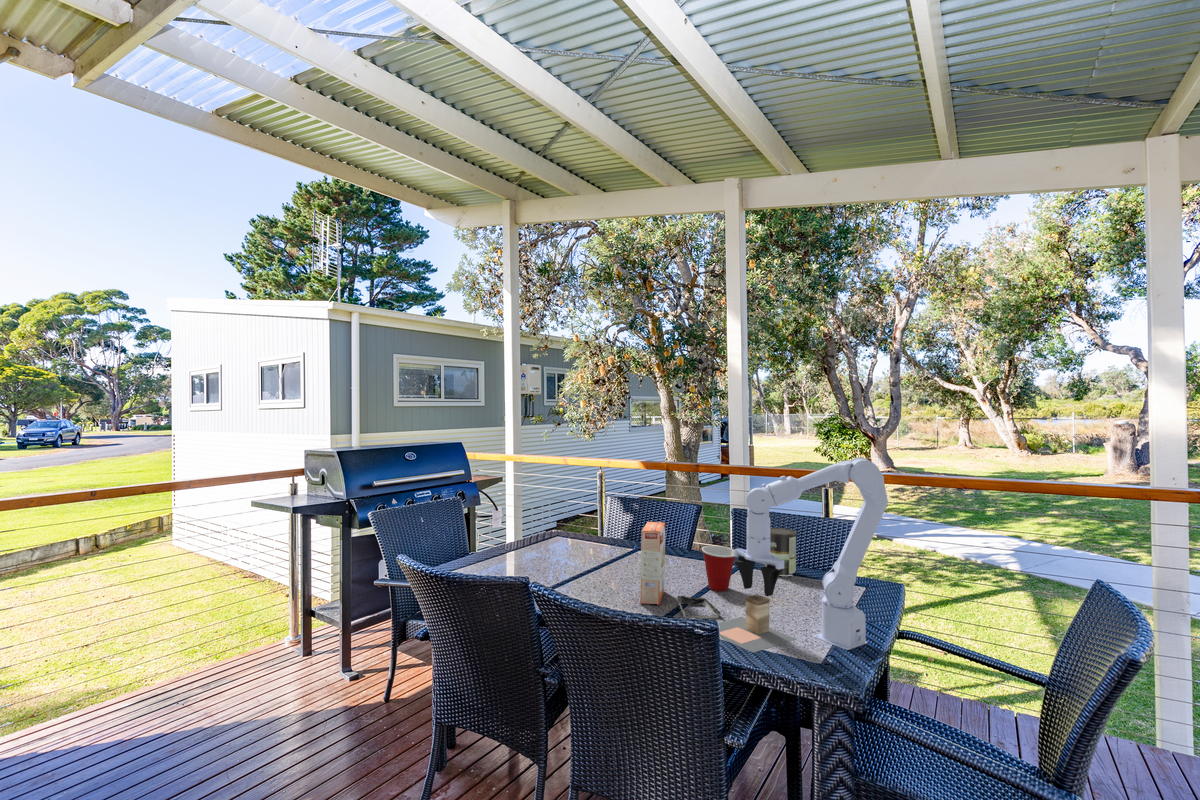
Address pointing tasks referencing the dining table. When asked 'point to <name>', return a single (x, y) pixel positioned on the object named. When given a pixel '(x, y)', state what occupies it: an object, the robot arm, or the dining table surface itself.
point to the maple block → (757, 614)
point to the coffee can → (784, 548)
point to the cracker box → (652, 563)
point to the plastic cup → (718, 566)
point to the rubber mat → (750, 636)
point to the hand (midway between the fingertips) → (758, 591)
